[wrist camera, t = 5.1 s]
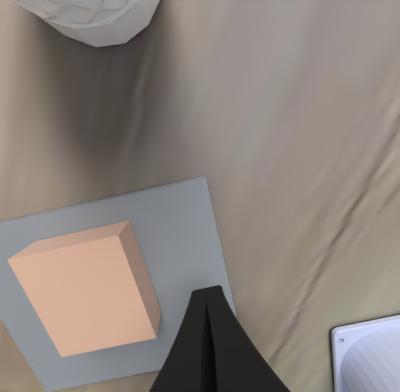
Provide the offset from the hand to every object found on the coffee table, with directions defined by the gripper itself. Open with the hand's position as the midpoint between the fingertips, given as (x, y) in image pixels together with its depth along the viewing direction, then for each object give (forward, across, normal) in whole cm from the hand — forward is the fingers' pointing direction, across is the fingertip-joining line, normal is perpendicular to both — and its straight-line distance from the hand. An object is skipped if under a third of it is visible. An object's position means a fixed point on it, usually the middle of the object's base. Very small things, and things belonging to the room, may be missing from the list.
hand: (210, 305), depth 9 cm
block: (+3, +4, 0) cm, 5 cm away
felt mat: (+5, +7, +2) cm, 9 cm away
